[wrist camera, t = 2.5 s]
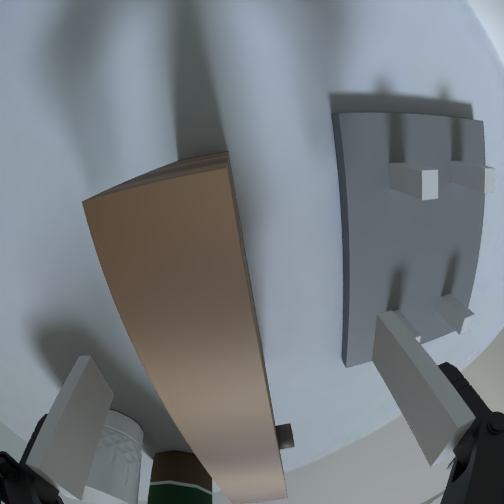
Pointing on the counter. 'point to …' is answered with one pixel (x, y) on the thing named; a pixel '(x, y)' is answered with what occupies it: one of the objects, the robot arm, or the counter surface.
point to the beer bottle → (179, 480)
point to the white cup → (116, 463)
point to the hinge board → (409, 222)
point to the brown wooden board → (194, 316)
